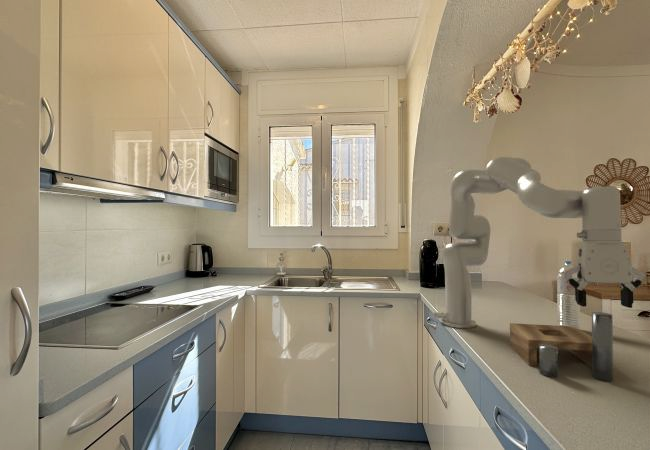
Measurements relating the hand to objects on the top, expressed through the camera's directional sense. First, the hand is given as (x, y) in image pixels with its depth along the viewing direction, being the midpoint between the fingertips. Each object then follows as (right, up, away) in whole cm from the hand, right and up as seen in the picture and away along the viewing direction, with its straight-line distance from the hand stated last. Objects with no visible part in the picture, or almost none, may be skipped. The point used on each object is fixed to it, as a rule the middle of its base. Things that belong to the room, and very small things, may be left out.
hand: (603, 306), depth 84 cm
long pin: (0, -18, 0) cm, 18 cm away
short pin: (-12, -18, +3) cm, 22 cm away
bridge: (-3, -18, +14) cm, 23 cm away
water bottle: (+20, -18, +40) cm, 48 cm away
